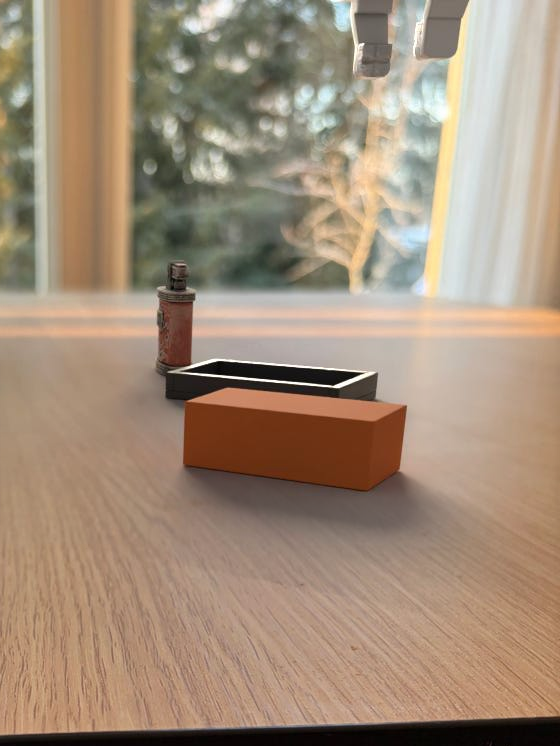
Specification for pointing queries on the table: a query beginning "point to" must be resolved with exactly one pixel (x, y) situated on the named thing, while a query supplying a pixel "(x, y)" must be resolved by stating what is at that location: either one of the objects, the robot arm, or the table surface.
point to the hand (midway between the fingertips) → (399, 70)
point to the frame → (269, 380)
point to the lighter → (175, 319)
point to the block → (295, 437)
